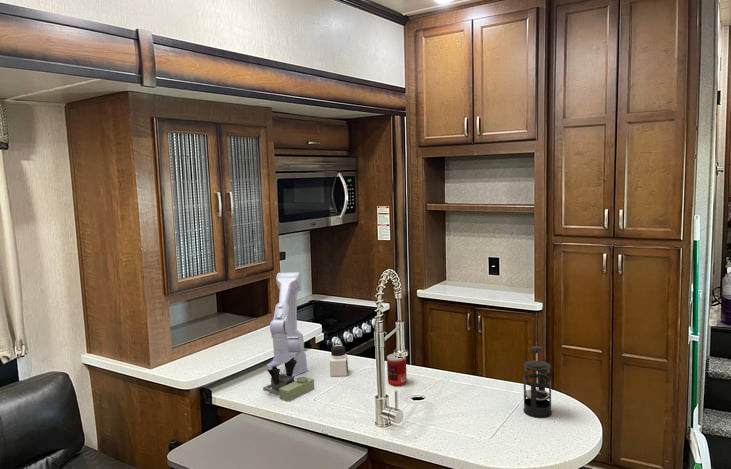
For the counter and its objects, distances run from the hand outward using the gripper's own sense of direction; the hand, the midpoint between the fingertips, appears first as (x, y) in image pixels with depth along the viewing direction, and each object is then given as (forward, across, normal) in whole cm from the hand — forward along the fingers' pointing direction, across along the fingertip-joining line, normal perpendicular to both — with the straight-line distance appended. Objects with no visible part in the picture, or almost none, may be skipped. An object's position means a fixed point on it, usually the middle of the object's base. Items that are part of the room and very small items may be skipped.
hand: (283, 381), depth 211 cm
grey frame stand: (+3, 0, +2) cm, 4 cm away
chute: (+3, 0, 0) cm, 4 cm away
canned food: (+4, -28, +37) cm, 46 cm away
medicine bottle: (+4, -24, +10) cm, 26 cm away
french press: (+3, -29, +93) cm, 98 cm away
